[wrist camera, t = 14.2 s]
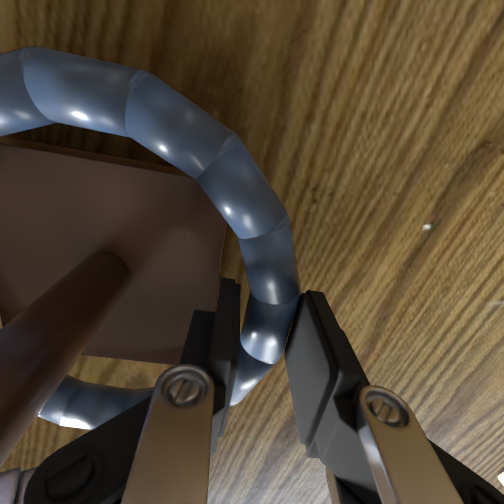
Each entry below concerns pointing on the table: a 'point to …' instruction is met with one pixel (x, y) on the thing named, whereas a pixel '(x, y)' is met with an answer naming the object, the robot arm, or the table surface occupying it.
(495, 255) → the table surface
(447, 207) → the table surface
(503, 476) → the ink box
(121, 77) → the ring
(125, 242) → the stand
